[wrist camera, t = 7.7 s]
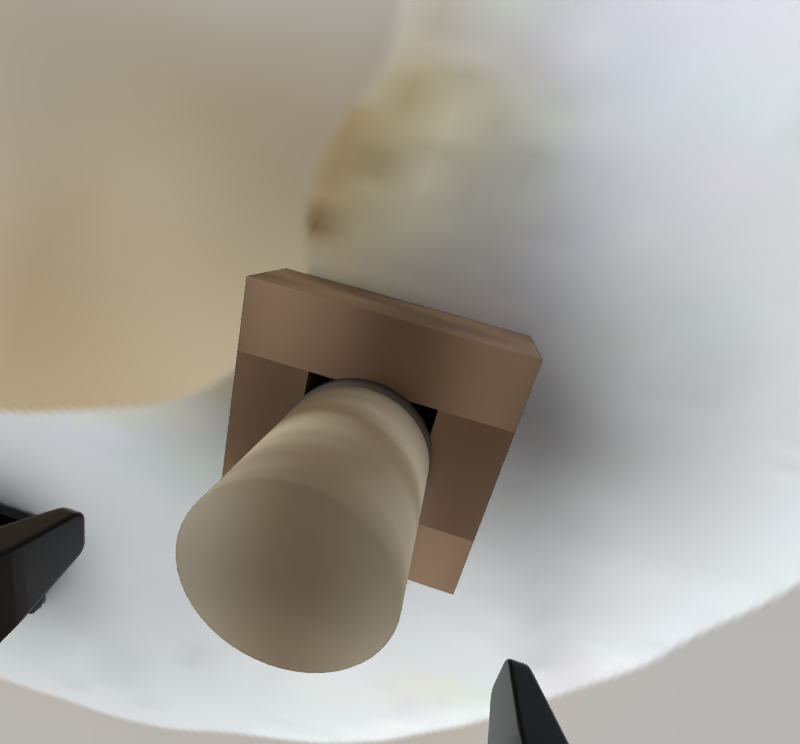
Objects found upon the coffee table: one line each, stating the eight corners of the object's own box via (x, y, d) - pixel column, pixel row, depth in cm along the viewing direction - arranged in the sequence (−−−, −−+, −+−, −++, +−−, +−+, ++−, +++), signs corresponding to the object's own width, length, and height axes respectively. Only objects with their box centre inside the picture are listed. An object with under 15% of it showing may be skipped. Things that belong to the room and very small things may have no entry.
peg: (307, 449, 19) (166, 630, 10) (328, 338, 17) (181, 444, 8) (421, 484, 18) (373, 703, 10) (455, 374, 16) (433, 524, 8)
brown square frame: (254, 475, 19) (217, 516, 17) (286, 268, 16) (246, 275, 14) (456, 540, 19) (453, 594, 16) (530, 336, 16) (542, 359, 13)
